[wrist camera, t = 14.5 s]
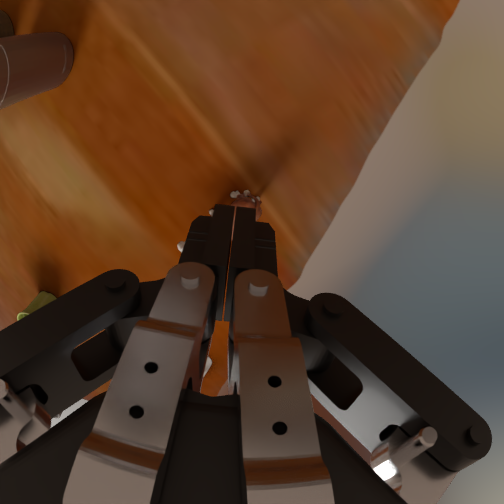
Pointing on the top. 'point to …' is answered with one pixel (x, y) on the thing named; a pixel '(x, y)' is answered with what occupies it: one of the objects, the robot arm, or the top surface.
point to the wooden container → (5, 25)
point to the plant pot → (37, 304)
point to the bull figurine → (240, 201)
